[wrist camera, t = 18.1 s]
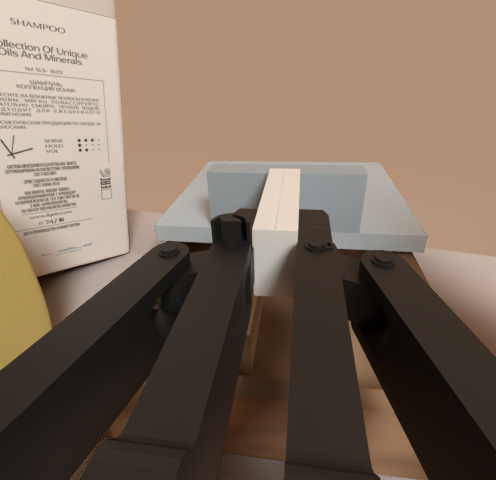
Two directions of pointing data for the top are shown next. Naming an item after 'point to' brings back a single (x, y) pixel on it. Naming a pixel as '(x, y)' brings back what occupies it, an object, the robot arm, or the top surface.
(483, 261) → the top surface
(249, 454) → the brown flat block
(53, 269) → the tall white carton
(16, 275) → the cheese
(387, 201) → the lid
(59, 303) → the top surface
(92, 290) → the top surface
